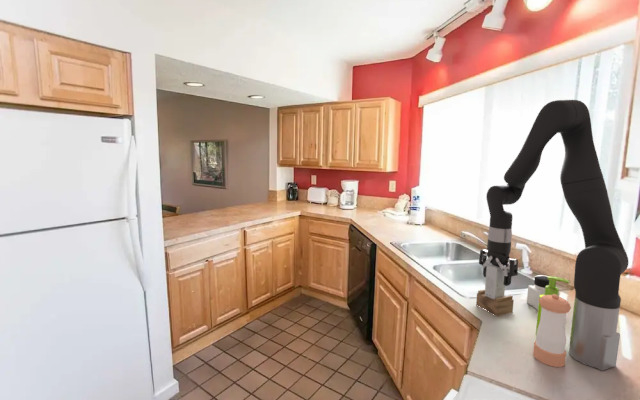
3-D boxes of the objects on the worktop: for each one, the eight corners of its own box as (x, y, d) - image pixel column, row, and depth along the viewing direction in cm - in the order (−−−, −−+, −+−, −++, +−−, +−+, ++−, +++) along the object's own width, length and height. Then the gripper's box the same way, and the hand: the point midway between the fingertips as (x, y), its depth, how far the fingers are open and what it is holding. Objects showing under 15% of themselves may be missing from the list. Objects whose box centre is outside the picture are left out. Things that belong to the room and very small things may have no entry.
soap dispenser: (563, 345, 92) (570, 283, 89) (535, 337, 96) (541, 277, 93) (562, 337, 97) (569, 277, 94) (536, 329, 101) (541, 272, 98)
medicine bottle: (558, 311, 113) (561, 280, 112) (538, 311, 113) (541, 280, 112) (544, 302, 120) (547, 273, 119) (526, 302, 120) (528, 273, 119)
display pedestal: (512, 312, 112) (513, 296, 111) (496, 316, 109) (497, 300, 109) (491, 302, 120) (492, 287, 120) (476, 305, 118) (477, 290, 117)
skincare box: (495, 300, 111) (497, 268, 109) (483, 295, 115) (485, 265, 113) (504, 296, 114) (507, 265, 112) (493, 292, 118) (495, 262, 116)
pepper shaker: (534, 347, 91) (540, 287, 89) (565, 357, 87) (572, 294, 84) (531, 359, 86) (538, 295, 83) (564, 370, 81) (572, 303, 78)
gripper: (525, 243, 106) (521, 287, 108) (490, 233, 119) (487, 273, 121) (510, 245, 104) (506, 290, 106) (475, 235, 117) (473, 275, 119)
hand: (496, 281), depth 114 cm, fingers open, 8 cm apart
